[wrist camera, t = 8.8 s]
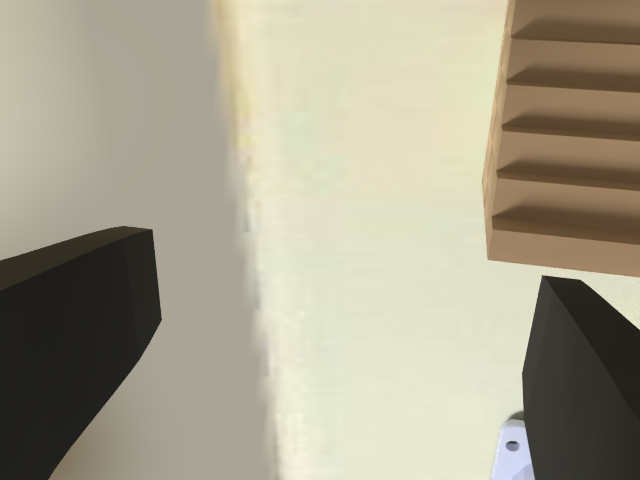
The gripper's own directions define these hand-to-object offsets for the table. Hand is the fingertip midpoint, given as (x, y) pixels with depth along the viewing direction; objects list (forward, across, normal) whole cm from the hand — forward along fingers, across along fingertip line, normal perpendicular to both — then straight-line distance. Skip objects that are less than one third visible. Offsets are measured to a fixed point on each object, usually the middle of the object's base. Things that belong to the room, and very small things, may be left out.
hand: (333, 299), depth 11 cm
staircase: (+10, -6, -4) cm, 12 cm away
